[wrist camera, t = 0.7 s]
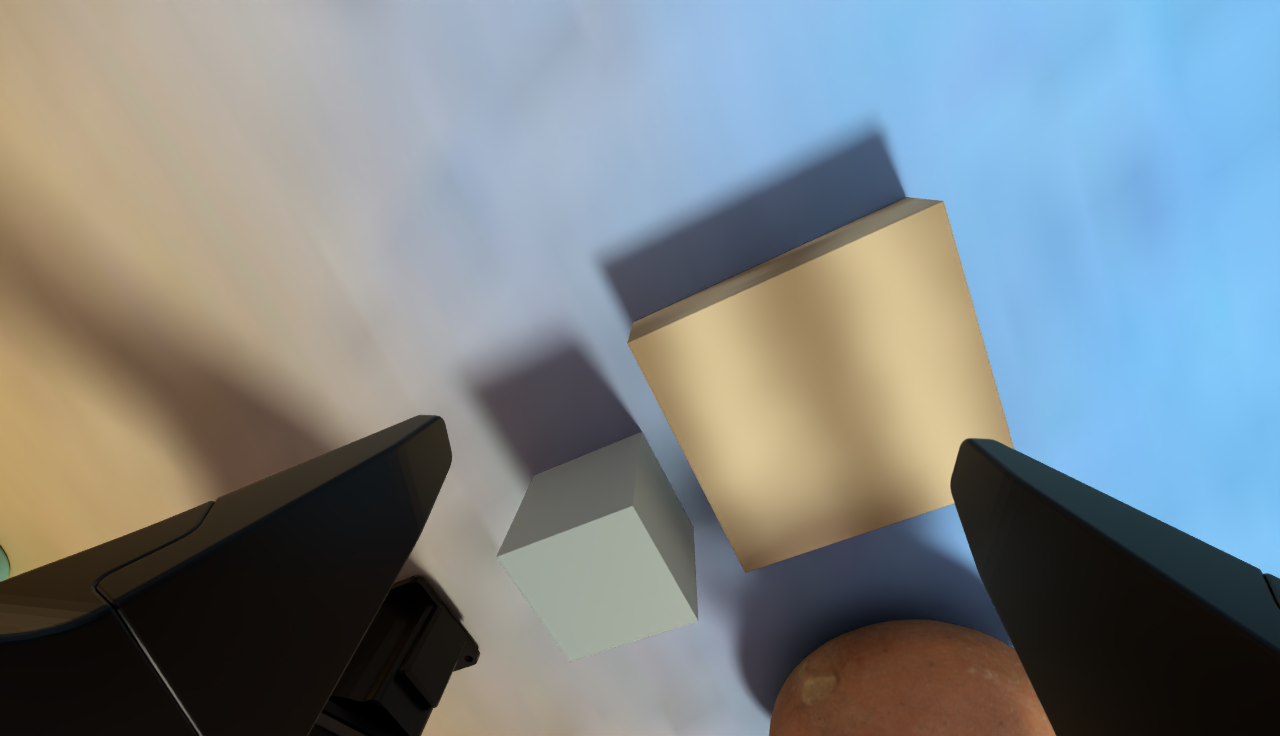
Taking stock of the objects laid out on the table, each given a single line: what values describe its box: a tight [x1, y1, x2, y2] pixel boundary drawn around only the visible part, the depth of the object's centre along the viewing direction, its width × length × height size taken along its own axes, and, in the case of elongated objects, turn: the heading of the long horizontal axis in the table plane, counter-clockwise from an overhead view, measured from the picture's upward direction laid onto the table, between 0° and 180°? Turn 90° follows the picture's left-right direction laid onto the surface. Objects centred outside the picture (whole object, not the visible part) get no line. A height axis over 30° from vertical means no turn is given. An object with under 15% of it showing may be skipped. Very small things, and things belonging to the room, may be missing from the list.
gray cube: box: [497, 432, 698, 662], centre depth 24 cm, size 6×6×6 cm
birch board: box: [628, 197, 1014, 573], centre depth 22 cm, size 12×12×3 cm
